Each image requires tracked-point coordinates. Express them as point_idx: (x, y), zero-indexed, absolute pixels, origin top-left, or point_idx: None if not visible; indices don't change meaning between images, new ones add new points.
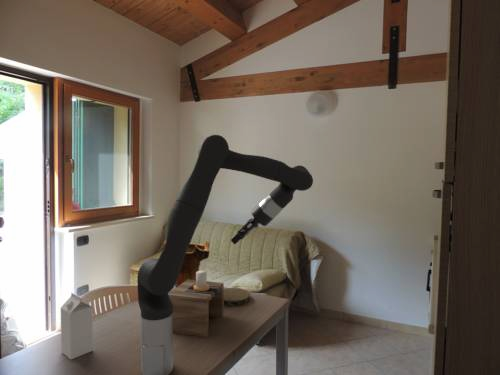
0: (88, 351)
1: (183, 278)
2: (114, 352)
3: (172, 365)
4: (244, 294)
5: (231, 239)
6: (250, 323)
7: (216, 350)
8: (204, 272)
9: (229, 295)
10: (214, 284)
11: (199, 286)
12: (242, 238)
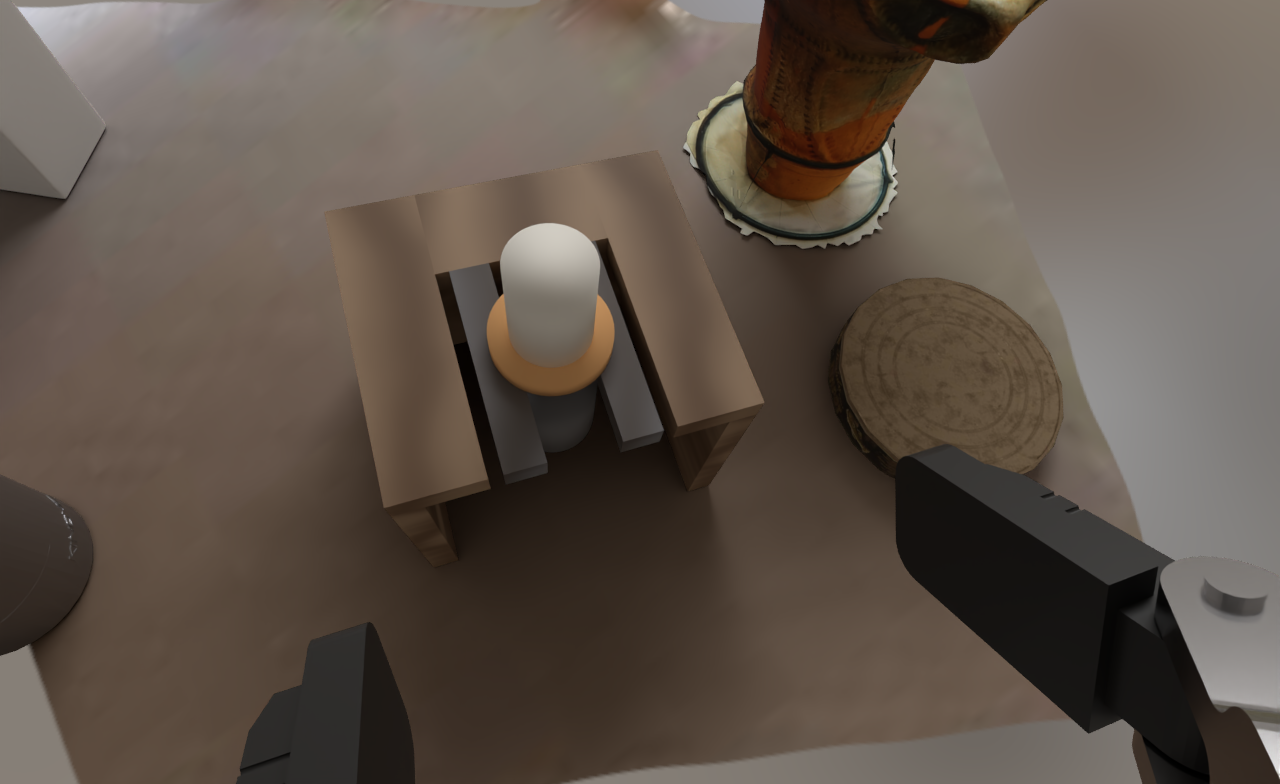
0: (39, 192)
1: (767, 80)
2: (91, 282)
3: (2, 645)
4: (999, 444)
5: (307, 652)
6: (731, 693)
7: None
8: (563, 288)
9: (917, 373)
10: (690, 364)
11: (510, 334)
12: (924, 583)
